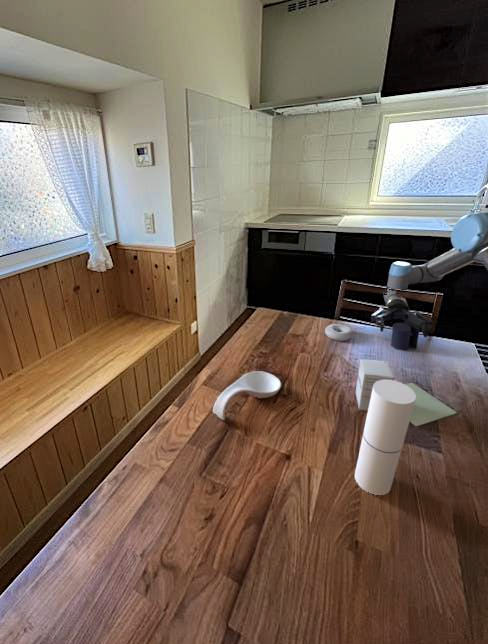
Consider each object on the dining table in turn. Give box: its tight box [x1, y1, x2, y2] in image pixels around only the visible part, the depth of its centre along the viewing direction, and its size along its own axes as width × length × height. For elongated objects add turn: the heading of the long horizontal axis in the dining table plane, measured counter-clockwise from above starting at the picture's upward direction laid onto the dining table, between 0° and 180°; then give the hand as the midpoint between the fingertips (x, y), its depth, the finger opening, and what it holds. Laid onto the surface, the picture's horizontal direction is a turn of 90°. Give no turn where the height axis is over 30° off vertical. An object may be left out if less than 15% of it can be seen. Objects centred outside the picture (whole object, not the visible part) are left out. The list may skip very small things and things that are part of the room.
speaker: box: [390, 318, 421, 351], centre depth 120 cm, size 8×6×10 cm
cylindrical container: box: [354, 379, 416, 497], centre depth 70 cm, size 7×7×25 cm
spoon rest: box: [212, 370, 282, 421], centre depth 100 cm, size 24×12×7 cm, turn 127°
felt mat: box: [404, 382, 458, 428], centre depth 96 cm, size 14×14×1 cm
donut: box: [324, 323, 354, 342], centre depth 131 cm, size 10×4×10 cm
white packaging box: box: [355, 358, 395, 412], centre depth 94 cm, size 7×7×13 cm
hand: (403, 331), depth 121 cm, fingers open, 13 cm apart
